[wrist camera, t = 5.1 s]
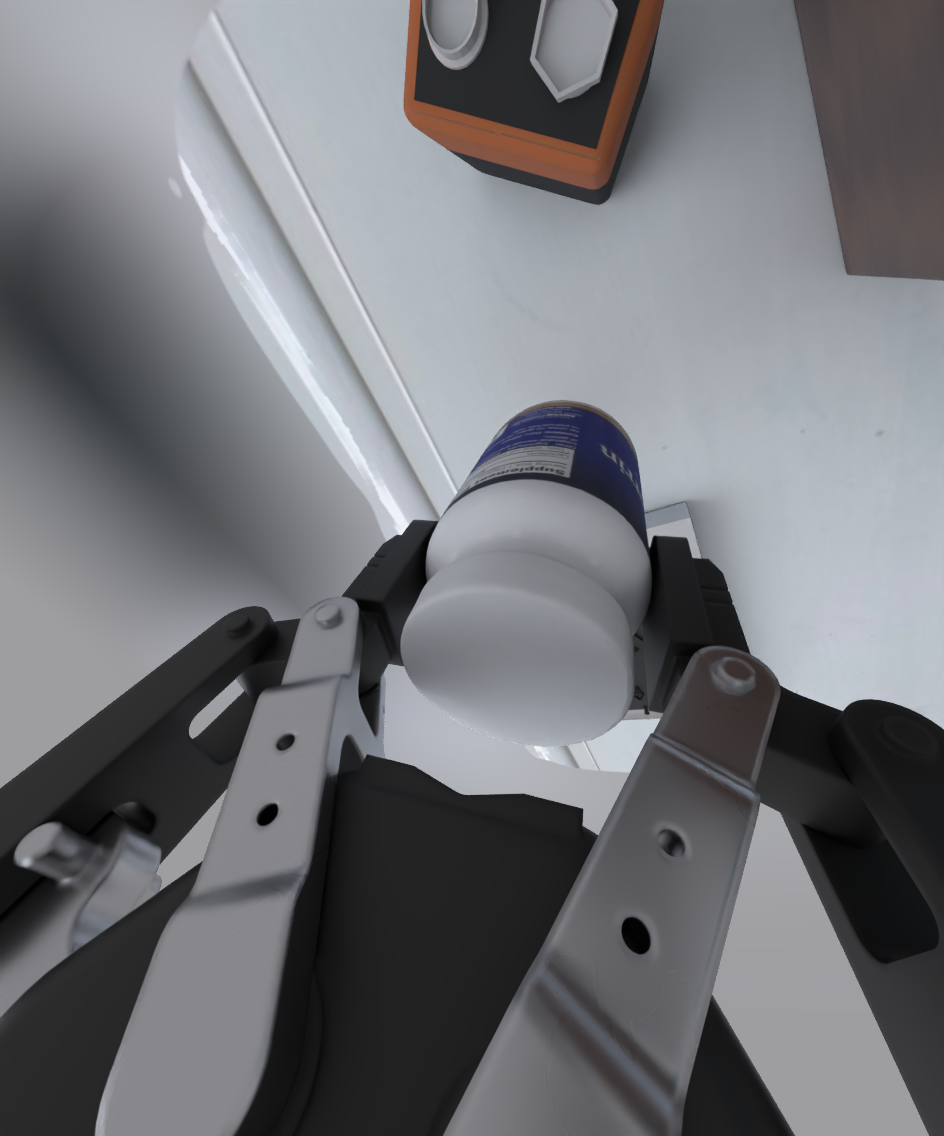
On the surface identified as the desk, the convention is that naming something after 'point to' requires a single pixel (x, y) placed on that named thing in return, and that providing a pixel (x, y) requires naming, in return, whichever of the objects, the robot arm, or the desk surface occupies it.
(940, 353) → the desk surface
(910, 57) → the stand
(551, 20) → the battery
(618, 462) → the pill bottle
